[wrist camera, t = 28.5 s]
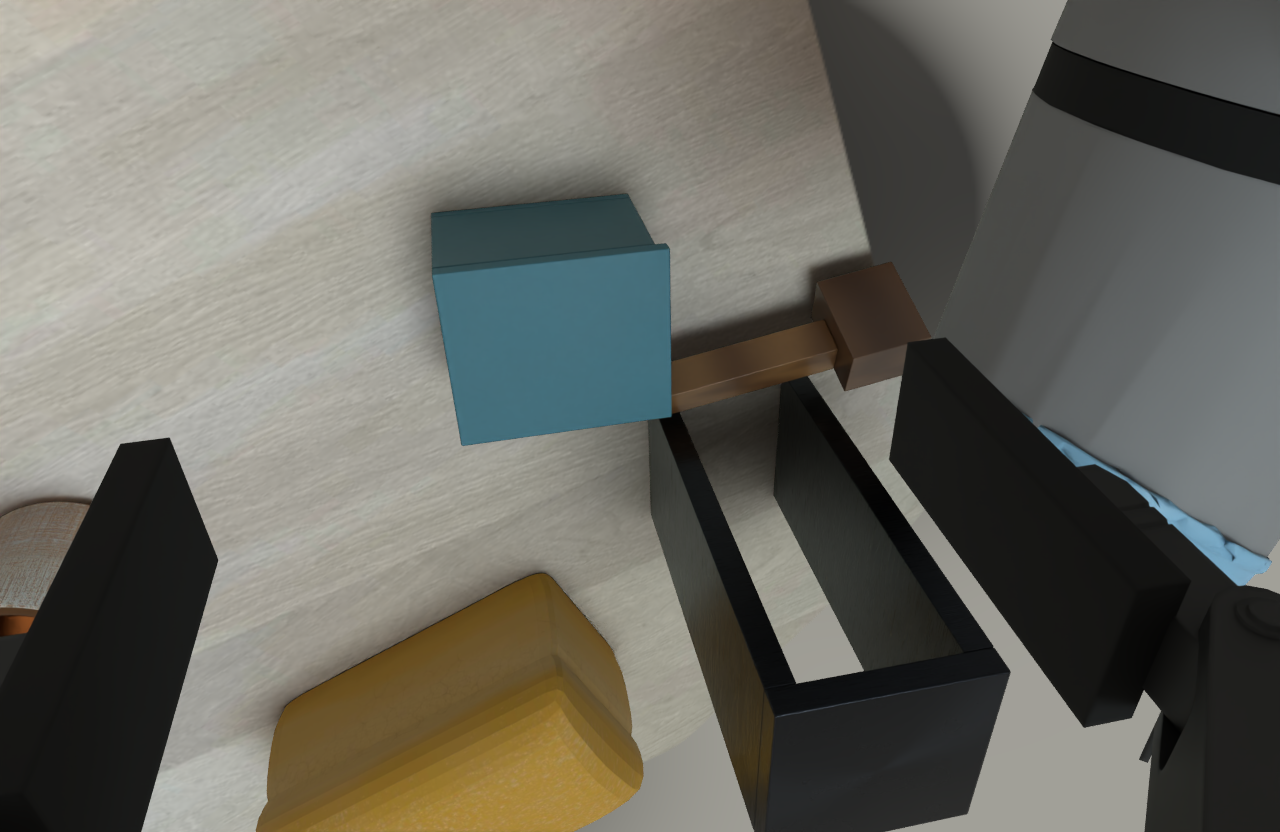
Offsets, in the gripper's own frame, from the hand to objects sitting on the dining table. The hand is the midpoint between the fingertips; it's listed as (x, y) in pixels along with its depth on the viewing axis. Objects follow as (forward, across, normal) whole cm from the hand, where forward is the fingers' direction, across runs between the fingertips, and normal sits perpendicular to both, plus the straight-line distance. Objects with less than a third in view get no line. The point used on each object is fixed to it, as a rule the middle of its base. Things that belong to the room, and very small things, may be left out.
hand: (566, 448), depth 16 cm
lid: (+29, +2, -14) cm, 32 cm away
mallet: (+34, +17, -20) cm, 43 cm away
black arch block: (+37, +14, -28) cm, 48 cm away
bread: (+37, -8, -48) cm, 61 cm away
